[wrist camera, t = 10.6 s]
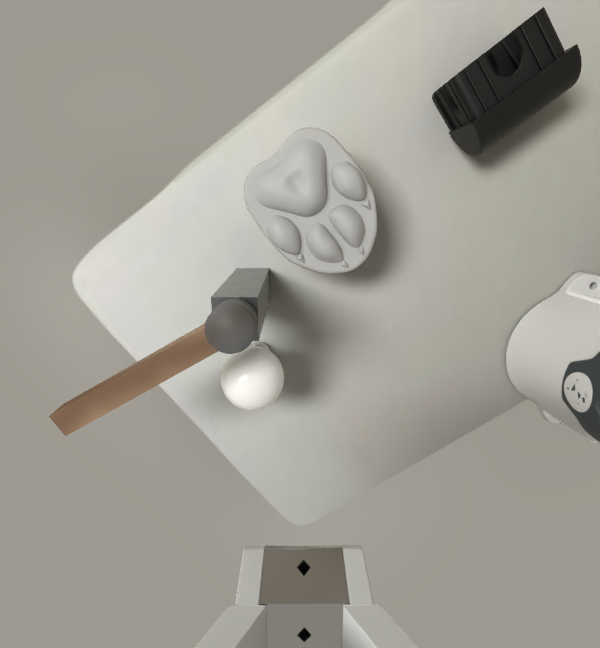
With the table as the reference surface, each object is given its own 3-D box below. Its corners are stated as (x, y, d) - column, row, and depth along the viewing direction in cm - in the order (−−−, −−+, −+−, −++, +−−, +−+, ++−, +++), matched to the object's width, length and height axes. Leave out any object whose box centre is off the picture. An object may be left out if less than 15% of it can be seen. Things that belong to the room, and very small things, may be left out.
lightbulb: (269, 315, 47) (261, 348, 36) (295, 360, 49) (295, 404, 38) (222, 340, 48) (201, 379, 37) (249, 383, 49) (237, 432, 39)
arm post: (269, 268, 45) (257, 297, 32) (269, 299, 46) (258, 340, 33) (236, 268, 45) (211, 297, 32) (238, 299, 46) (213, 340, 33)
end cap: (460, 160, 42) (490, 152, 36) (425, 99, 41) (450, 79, 34) (547, 96, 41) (594, 76, 34) (513, 30, 39) (557, -4, 33)
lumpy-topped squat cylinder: (315, 124, 41) (319, 105, 33) (388, 226, 44) (410, 232, 36) (238, 192, 43) (224, 189, 35) (314, 285, 46) (318, 303, 38)
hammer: (266, 328, 32) (263, 339, 30) (86, 428, 34) (70, 445, 32) (242, 289, 31) (237, 297, 29) (59, 394, 33) (39, 410, 31)
